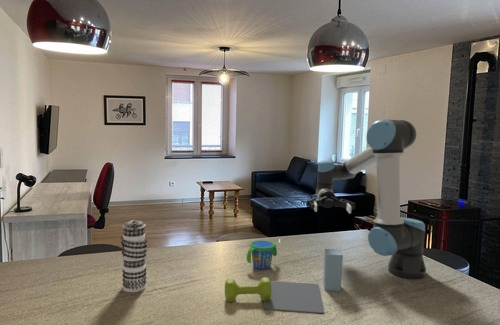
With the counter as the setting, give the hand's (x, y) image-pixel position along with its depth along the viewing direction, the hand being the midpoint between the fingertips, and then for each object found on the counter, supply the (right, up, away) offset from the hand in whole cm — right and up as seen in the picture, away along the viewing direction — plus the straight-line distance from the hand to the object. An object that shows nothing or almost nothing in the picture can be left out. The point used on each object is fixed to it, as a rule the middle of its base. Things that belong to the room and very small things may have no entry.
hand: (333, 209), depth 154 cm
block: (-2, -29, -7) cm, 30 cm away
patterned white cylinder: (-77, -28, -11) cm, 82 cm away
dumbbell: (-34, -30, -19) cm, 49 cm away
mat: (-18, -30, -15) cm, 38 cm away
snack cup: (-28, -26, +12) cm, 40 cm away
